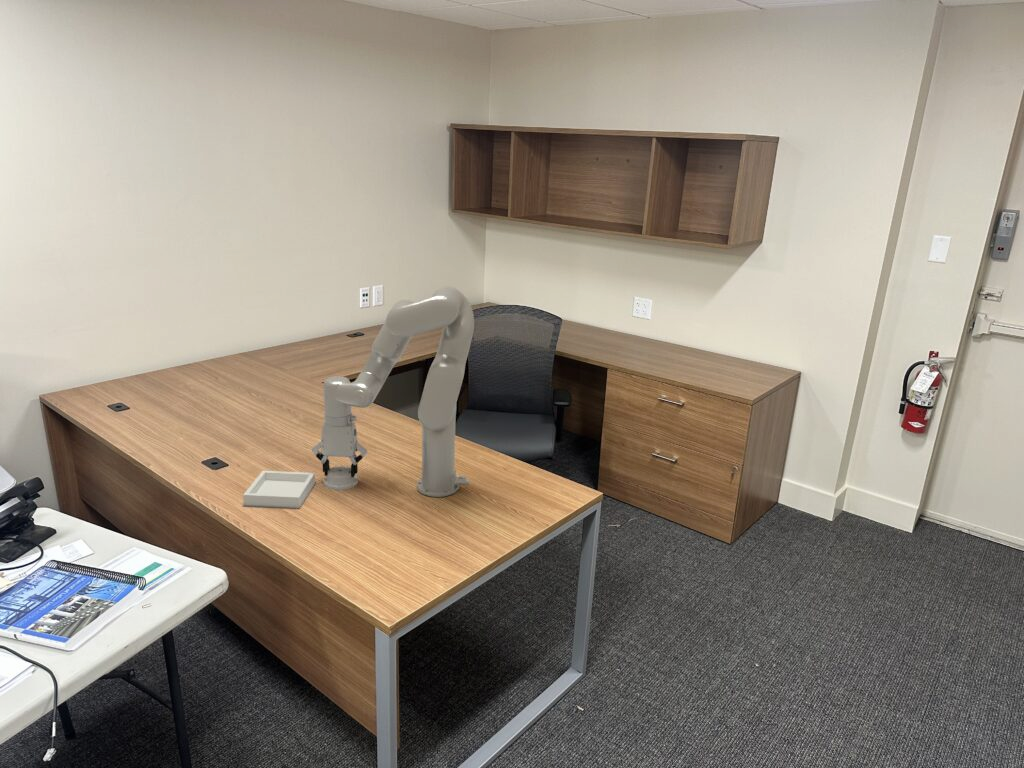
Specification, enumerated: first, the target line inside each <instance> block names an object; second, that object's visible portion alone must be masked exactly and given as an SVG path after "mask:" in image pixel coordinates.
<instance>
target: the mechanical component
mask: <svg viewBox="0 0 1024 768" xmlns="http://www.w3.org/2000/svg"><path fill="white" fill-rule="evenodd" d="M327 474H328V475H327V476H324V478H323V486H324V487H325V488H327V489H330V490H332V491H343V490H344V491H345V490H349V489H352V488H354V487H356V485H358V483H359V477H358V475H356V474H355V476H354V477H351V466H349V465H346V466H345V465H338V466H337V465H335V466H332V467H330V470H328V472H327Z"/></svg>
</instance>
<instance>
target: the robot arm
mask: <svg viewBox="0 0 1024 768" xmlns="http://www.w3.org/2000/svg"><path fill="white" fill-rule="evenodd" d="M439 329H442V332H441V334H440V335H441V336H440V339H439V345H438V347H437V351H436V354H435V357H434V359H433V361H432V363H431V365H430V367H429V370H428V373H427V376H426V379H425V383H424V387H423V390H422V394H421V398H420V402H419V405H418V408H417V416H418V420H419V422H420V425H422V427H421V428H422V429H421V430H422V431H421V433H422V434H421V435H422V436H421V478H420V479H419V480H418V481H417V482H416V490H417V492H418V493H421V494H422V495H425V496H427V497H433V498H442V497H447V496H451V495H454V494H456V493H457V492H458V491H459V490H460V486H469V485H470V479H469V478H467V477H466V475H458V474H457V470H455V453H456V452H455V449H456V447H455V446H456V442H455V441H456V420H457V419H456V418H457V416H456V415H457V401H458V398H459V395H460V391H461V387H462V385H463V380H464V377H465V370H466V364H467V359H468V357H469V356H468V355H469V353H470V347H471V344H472V339H473V335H474V329H475V316H474V311H473V308H472V305H471V303H470V302H469V299H468V298H467V297H466V296H465V294H464V293H462V292H461V291H460V290H458V289H457V288H455V287H452V286H443V287H440V288H439V289H437V290H436V291H435V292H434V293H433V294H432V296H431V297H428V298H426V299H423V300H419V301H415V302H414V301H412V300H410V299H402V300H398V301H397V302H395V304H394V305H393V306H392V307H391V309H390V310H389V311H388V313H387V315H386V319H385V320H384V323H383V325H382V326H381V328H380V330H379V332H378V334H377V335H376V337H375V339H374V341H373V342H372V345H371V352H370V354H369V356H368V359H367V361H366V362H365V364H364V366H363V367H362V369H361V371H360V373H359V374H358V376H357V378H356V379H355V380H354V381H352V382H351V381H350V379H349V378H348V377H346V376H341V375H334V376H329V377H327V378H326V379H325V380H324V381H323V403H324V404H323V407H324V420H323V424H322V427H321V437H320V441H319V442H318V443H317V444H316V445H314V446H313V447H312V448H311V452H312V453H313V455H314V456H316V458H317V459H318V460H319V461H320V463H321V464H322V472H323V473H324V477H326V476H328V474H327V472H328V470H330V468H331V466H330V459H328V458H329V457H337V458H338V457H339V458H348V459H349V460H350V462H351V465H350V467H351V477H354V476H355V475H356V474H358V469H359V468H358V467H359V466H358V464H359V463H360V461H361V460H363V459H364V457H365V456H366V455H367V453H368V451H369V450H368V449H367V448H365V447H364V446H363V445H361V444H360V443H359V439H358V433H357V427H356V422H355V421H357V415H354V414H353V412H352V407H354V408H360V409H363V408H368V407H370V406H371V405H372V404H373V403H374V402H375V399H376V398H377V396H378V395H379V392H380V391H381V389H382V388H383V386H384V385H385V382H386V380H387V378H388V377H389V375H390V374H391V372H392V370H393V368H394V366H395V364H396V363H398V362H399V361H400V359H401V357H402V355H403V354H404V352H405V350H406V348H407V346H408V344H409V343H410V341H411V339H412V337H414V336H418V335H421V334H425V333H428V332H431V331H434V330H439ZM358 451H359V452H360V453H359V455H357V454H356V452H358Z"/></svg>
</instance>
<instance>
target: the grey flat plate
mask: <svg viewBox="0 0 1024 768" xmlns="http://www.w3.org/2000/svg"><path fill="white" fill-rule="evenodd" d="M316 483H317V481H315V484H314V486H315V485H316ZM314 486H313V487H312V489H313V488H314ZM312 489H311V491H312ZM311 491H310V492H309V494H310V493H311ZM309 494H308V495H307V497H306V499H307V498H308V496H309ZM306 499H305V500H304V502H305V501H306ZM304 502H303V503H302V505H303V504H304ZM302 505H301V507H302ZM242 507H243V508H257V509H258V508H262V509H284V510H300V509H301V507H300V508H291V507H270V506H248V505H244V504H243V506H242Z"/></svg>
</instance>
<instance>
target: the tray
mask: <svg viewBox="0 0 1024 768" xmlns="http://www.w3.org/2000/svg"><path fill="white" fill-rule="evenodd" d="M315 482H316V473H315V472H303V471H302V472H298V471H282V470H281V471H278V470H276V471H275V470H262V471H261V472H260V474H258V476H257V477H256V478H255V480H253V482H252V483H251V484H250V485H249V487H248V489H246V491H245V492H244V493H243V495H242V498H243V505H248V506H270V507H291V508H300V509H301V507H302V506H301V505H303V504H304V503H305V501H306V500H307V498H308V496H309V494H310V493H311V491H312V490H311V489H313V488H314V486H315V485H316V483H315ZM314 484H315V485H314ZM312 487H313V488H312ZM309 492H310V493H309ZM307 495H308V496H307ZM306 497H307V498H306ZM304 500H305V501H304ZM302 503H303V504H302Z"/></svg>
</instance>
